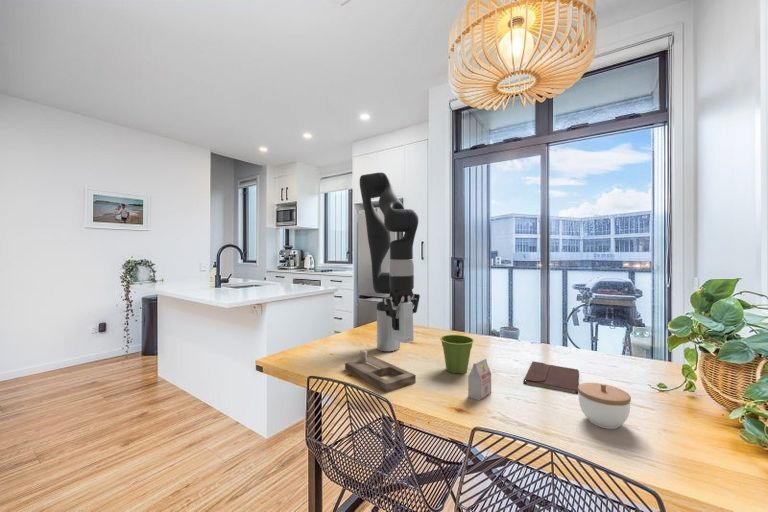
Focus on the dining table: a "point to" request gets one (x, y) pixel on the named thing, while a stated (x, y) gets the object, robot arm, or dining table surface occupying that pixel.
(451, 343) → the plant pot
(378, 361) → the brown piece
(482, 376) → the milk carton
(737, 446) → the dining table surface
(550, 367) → the notebook
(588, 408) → the lidded jar
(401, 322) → the skincare box
